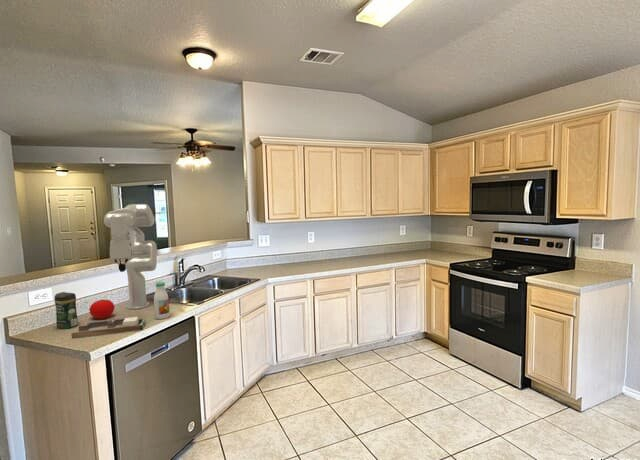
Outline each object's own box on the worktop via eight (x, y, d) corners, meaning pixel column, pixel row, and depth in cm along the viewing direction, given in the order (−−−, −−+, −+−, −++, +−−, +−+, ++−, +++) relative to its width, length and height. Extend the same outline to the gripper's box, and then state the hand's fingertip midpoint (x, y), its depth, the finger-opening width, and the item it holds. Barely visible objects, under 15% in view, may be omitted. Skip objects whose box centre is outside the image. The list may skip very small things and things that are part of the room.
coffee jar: (53, 328, 185) (50, 293, 183) (69, 323, 192) (66, 290, 191) (66, 330, 182) (63, 295, 180) (81, 324, 189) (78, 291, 187)
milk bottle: (153, 320, 194) (151, 284, 192) (156, 316, 201) (153, 281, 200) (168, 318, 196) (166, 283, 194) (170, 314, 203) (168, 280, 202)
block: (126, 327, 184) (125, 318, 183) (138, 326, 186) (138, 316, 185) (123, 331, 178) (122, 321, 178) (136, 329, 180) (135, 320, 179)
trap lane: (82, 328, 184) (81, 323, 184) (146, 320, 193) (146, 316, 193) (71, 338, 170) (71, 333, 170) (142, 329, 179) (141, 325, 179)
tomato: (103, 321, 194) (102, 302, 193) (85, 320, 197) (83, 302, 196) (119, 314, 205) (117, 297, 204) (101, 313, 208) (100, 296, 207)
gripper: (136, 236, 191) (139, 268, 193) (106, 237, 187) (109, 270, 189) (133, 237, 184) (136, 271, 186) (101, 239, 180) (104, 274, 182)
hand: (122, 271), depth 188 cm, fingers closed
